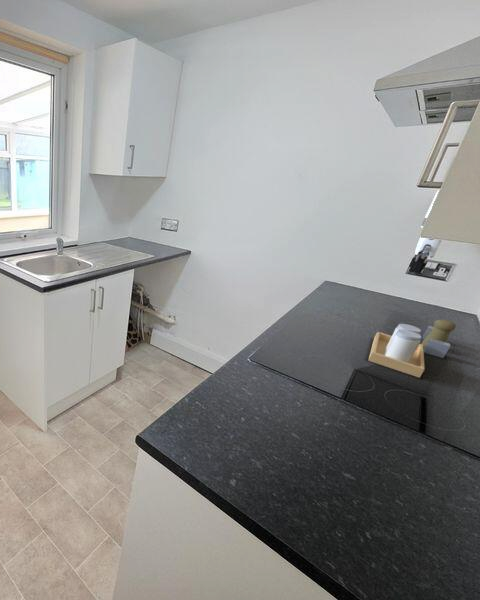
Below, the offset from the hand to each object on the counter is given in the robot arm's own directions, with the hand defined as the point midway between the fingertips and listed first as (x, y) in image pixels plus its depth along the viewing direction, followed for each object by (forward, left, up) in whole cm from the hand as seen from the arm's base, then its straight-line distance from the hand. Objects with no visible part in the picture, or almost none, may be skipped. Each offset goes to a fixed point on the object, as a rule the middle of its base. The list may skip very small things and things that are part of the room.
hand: (414, 270), depth 118 cm
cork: (-14, +3, -26) cm, 30 cm away
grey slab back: (-14, -4, -26) cm, 30 cm away
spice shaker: (-4, +25, -26) cm, 36 cm away
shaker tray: (-4, +25, -26) cm, 36 cm away
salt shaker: (-4, +32, -26) cm, 41 cm away
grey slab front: (-14, +11, -26) cm, 32 cm away
